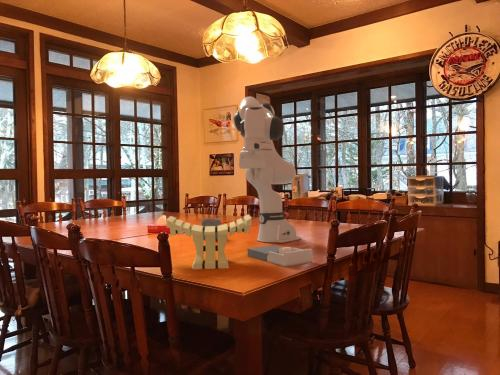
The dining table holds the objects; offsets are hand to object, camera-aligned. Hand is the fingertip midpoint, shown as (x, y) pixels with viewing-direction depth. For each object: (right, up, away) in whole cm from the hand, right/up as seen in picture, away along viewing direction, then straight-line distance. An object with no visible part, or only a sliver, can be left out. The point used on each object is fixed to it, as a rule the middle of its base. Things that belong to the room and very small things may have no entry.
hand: (255, 179), depth 168 cm
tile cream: (+11, -29, -11) cm, 32 cm away
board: (+6, -31, -4) cm, 32 cm away
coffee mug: (-22, -30, +45) cm, 58 cm away
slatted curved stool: (-17, -32, -15) cm, 39 cm away
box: (+13, -31, -14) cm, 37 cm away
